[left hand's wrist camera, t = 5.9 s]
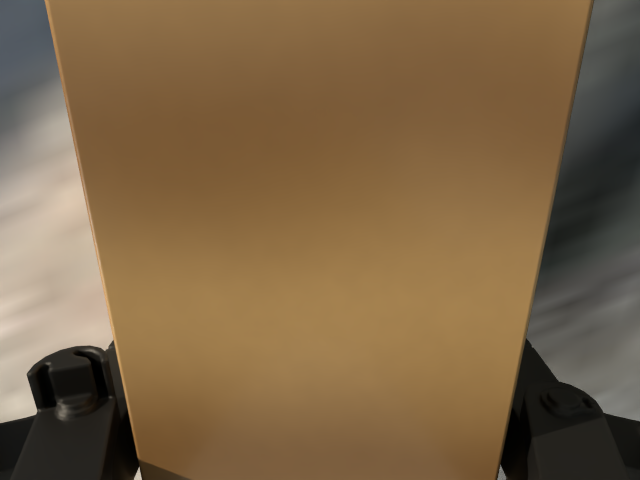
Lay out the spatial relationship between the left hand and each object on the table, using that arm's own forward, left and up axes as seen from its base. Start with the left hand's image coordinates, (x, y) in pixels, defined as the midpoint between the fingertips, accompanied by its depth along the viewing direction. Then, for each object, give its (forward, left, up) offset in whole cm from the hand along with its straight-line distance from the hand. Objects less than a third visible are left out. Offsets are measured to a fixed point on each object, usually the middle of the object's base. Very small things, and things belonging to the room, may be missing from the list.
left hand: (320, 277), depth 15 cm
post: (+8, +26, -1) cm, 27 cm away
